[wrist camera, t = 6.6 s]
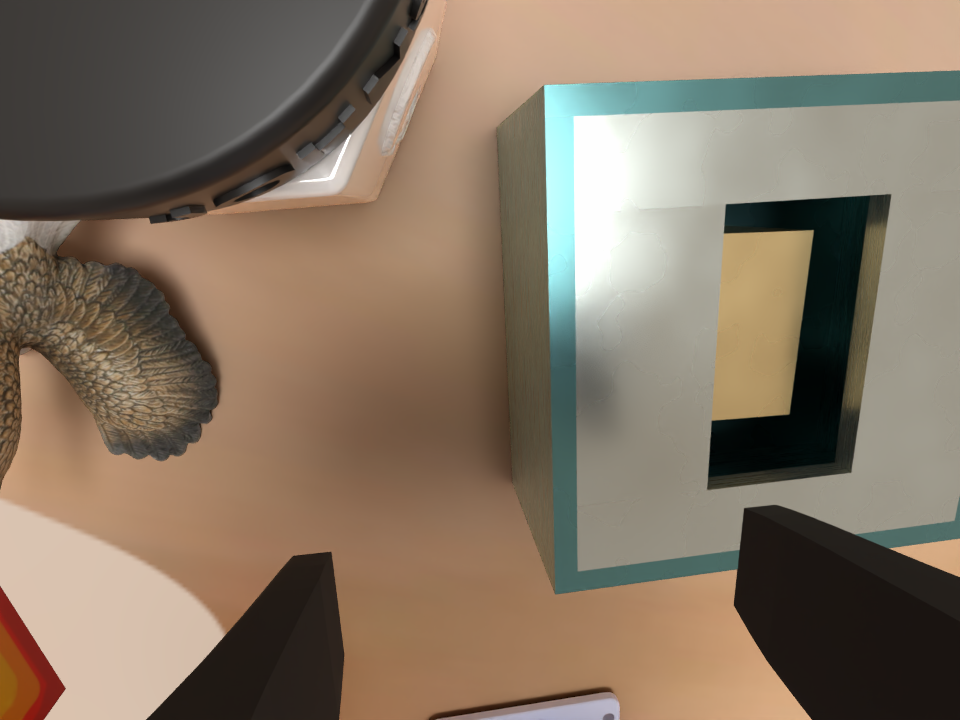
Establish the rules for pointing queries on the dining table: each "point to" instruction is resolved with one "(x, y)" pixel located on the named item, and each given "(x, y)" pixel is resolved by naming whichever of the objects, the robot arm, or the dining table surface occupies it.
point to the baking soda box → (23, 670)
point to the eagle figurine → (98, 345)
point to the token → (759, 320)
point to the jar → (204, 104)
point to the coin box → (695, 307)
